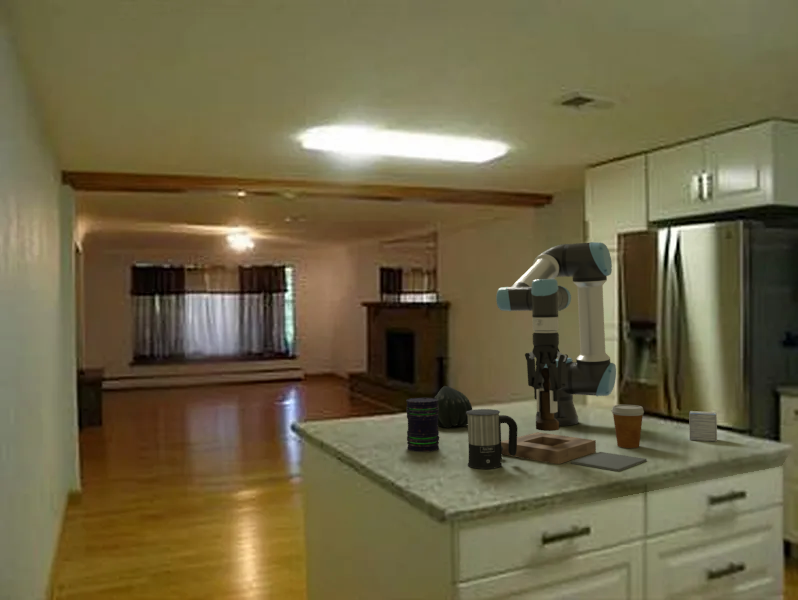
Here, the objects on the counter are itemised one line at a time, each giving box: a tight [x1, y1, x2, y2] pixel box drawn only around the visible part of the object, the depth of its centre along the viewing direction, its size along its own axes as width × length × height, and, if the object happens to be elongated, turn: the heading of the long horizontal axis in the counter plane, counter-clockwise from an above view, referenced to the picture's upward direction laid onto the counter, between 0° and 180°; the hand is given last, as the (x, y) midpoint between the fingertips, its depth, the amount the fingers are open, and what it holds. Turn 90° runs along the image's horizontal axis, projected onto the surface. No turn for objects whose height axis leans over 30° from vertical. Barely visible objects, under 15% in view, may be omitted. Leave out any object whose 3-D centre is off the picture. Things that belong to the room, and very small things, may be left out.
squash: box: [434, 385, 473, 429], centre depth 255 cm, size 14×15×15 cm
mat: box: [570, 451, 647, 472], centre depth 194 cm, size 14×16×1 cm
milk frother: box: [466, 408, 518, 470], centre depth 197 cm, size 14×16×15 cm
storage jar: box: [405, 397, 440, 453], centre depth 216 cm, size 10×10×15 cm
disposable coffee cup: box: [610, 404, 645, 449], centre depth 215 cm, size 10×10×12 cm
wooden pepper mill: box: [535, 368, 560, 432], centre depth 207 cm, size 7×6×18 cm
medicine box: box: [688, 410, 718, 443], centre depth 223 cm, size 8×4×9 cm, turn 65°
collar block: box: [501, 431, 597, 465], centre depth 207 cm, size 20×20×4 cm
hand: (547, 411), depth 207 cm, fingers closed on wooden pepper mill, 4 cm apart
